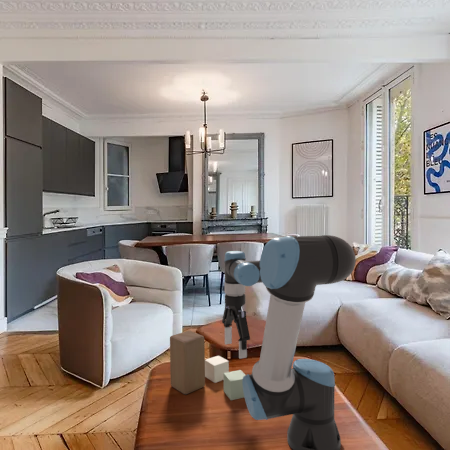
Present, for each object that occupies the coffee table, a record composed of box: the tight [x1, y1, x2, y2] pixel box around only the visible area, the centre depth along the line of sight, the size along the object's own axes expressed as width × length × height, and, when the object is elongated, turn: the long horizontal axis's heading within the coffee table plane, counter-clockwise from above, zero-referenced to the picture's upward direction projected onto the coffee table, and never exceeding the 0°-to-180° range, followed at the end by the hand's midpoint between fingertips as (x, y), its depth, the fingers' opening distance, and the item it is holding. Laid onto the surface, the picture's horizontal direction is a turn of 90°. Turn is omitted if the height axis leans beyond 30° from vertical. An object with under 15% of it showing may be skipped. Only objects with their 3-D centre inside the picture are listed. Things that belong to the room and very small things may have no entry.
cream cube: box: [205, 355, 230, 384], centre depth 146 cm, size 7×7×7 cm
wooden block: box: [169, 330, 206, 395], centre depth 138 cm, size 10×10×20 cm
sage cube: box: [223, 369, 246, 401], centre depth 133 cm, size 7×7×7 cm
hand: (235, 350), depth 133 cm, fingers open, 13 cm apart
